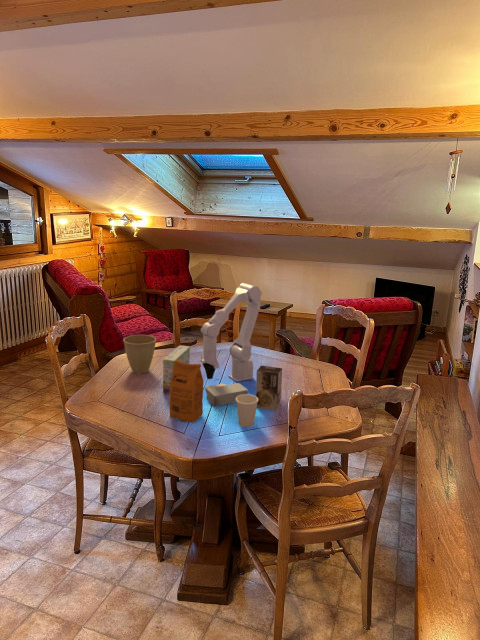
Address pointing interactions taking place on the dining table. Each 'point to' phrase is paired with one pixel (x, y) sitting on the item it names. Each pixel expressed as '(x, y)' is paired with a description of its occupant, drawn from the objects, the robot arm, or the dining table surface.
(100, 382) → the dining table surface
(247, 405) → the dixie cup
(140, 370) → the plant pot
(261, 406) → the coffee box
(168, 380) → the snack box
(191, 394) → the coffee package
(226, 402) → the beige slab
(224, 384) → the tile
